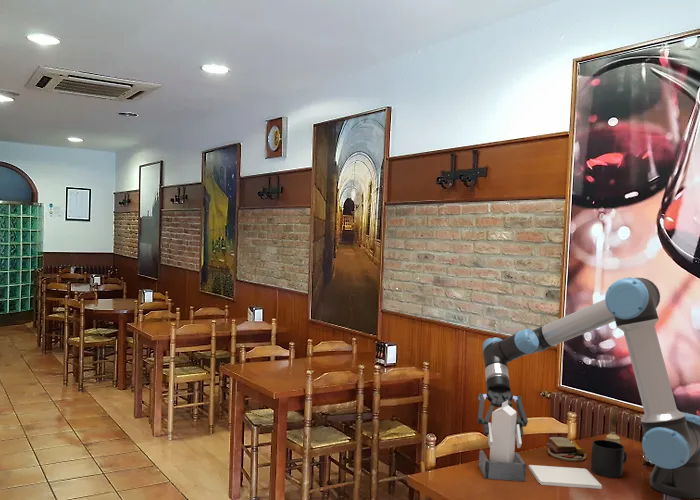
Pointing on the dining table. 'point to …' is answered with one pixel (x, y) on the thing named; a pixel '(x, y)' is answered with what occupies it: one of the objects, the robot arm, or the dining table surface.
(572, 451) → the toy sandwich meal
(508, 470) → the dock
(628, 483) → the dining table surface
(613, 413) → the hand bell
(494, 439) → the milk
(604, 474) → the mug
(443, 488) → the dining table surface
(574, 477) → the board
